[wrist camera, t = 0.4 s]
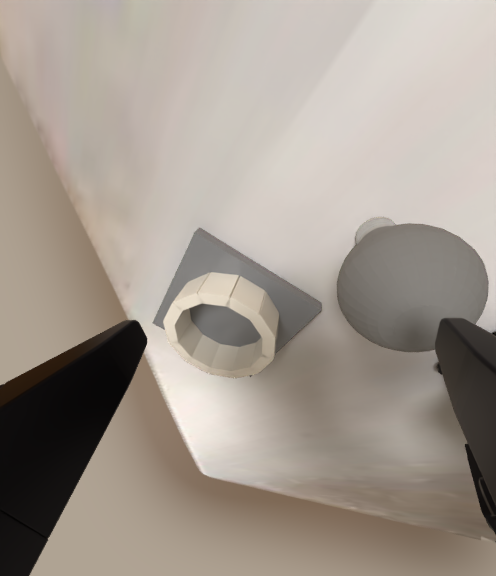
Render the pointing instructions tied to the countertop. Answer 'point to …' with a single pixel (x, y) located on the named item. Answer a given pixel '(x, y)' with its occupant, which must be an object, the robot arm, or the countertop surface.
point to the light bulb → (409, 283)
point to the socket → (230, 310)
